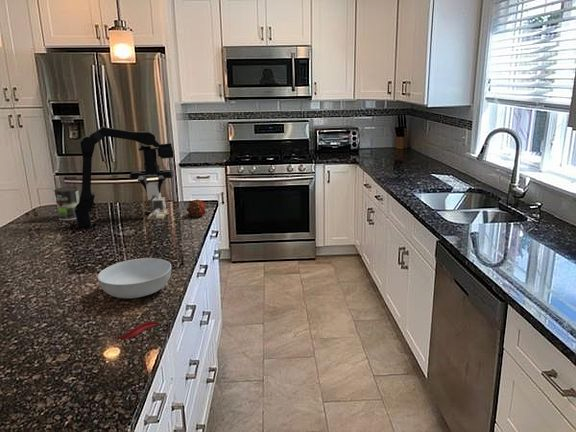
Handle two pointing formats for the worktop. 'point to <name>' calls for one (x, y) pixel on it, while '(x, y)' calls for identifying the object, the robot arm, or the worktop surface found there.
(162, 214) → the rail
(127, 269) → the serving bowl
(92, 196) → the robot arm
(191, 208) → the dragon fruit
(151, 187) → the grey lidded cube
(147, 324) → the cayenne pepper
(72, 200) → the grey green cylinder
